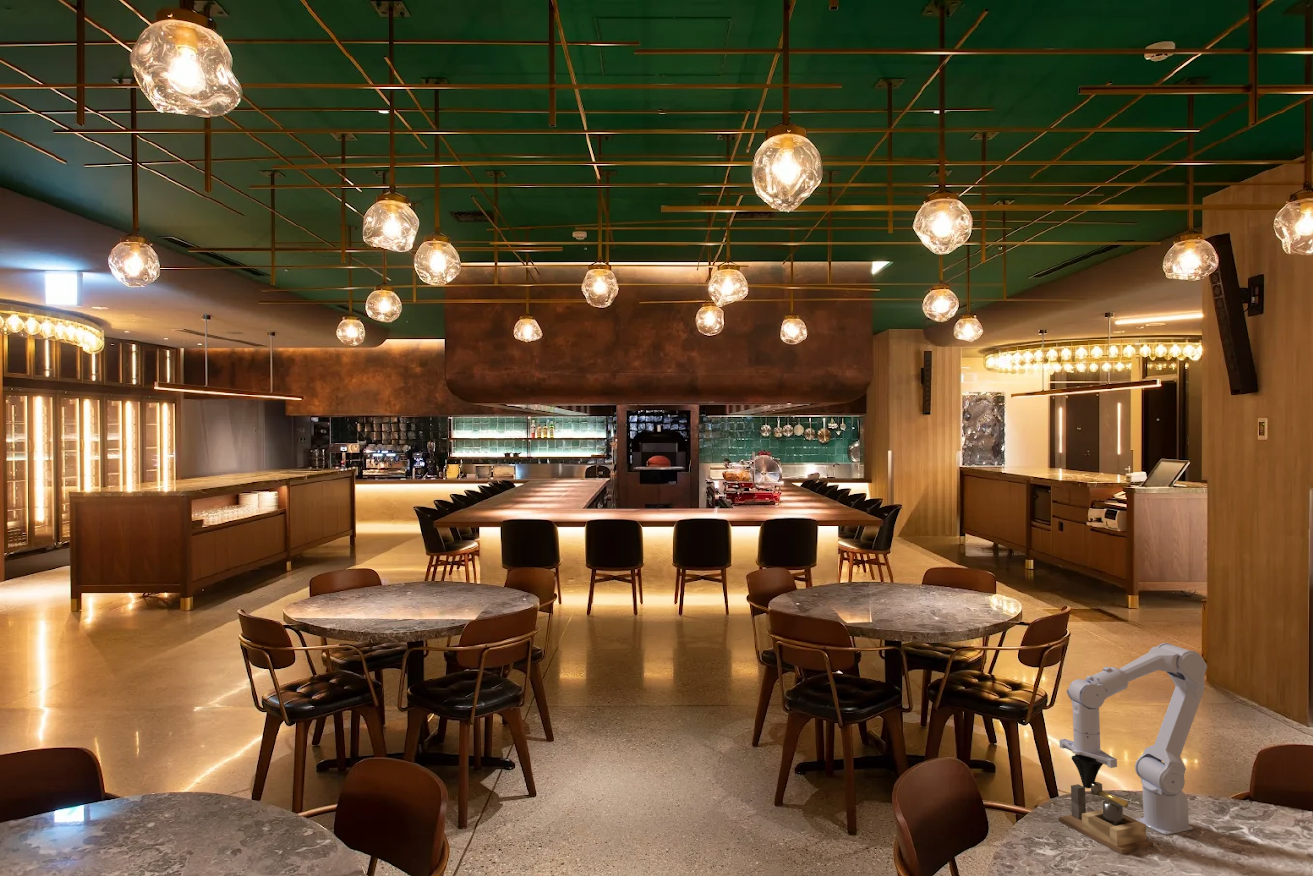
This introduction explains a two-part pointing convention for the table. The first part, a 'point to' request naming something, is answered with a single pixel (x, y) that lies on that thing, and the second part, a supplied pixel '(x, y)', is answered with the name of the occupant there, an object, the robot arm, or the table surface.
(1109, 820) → the black rounded block
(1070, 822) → the dock
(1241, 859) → the table surface
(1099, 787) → the lock bolt
